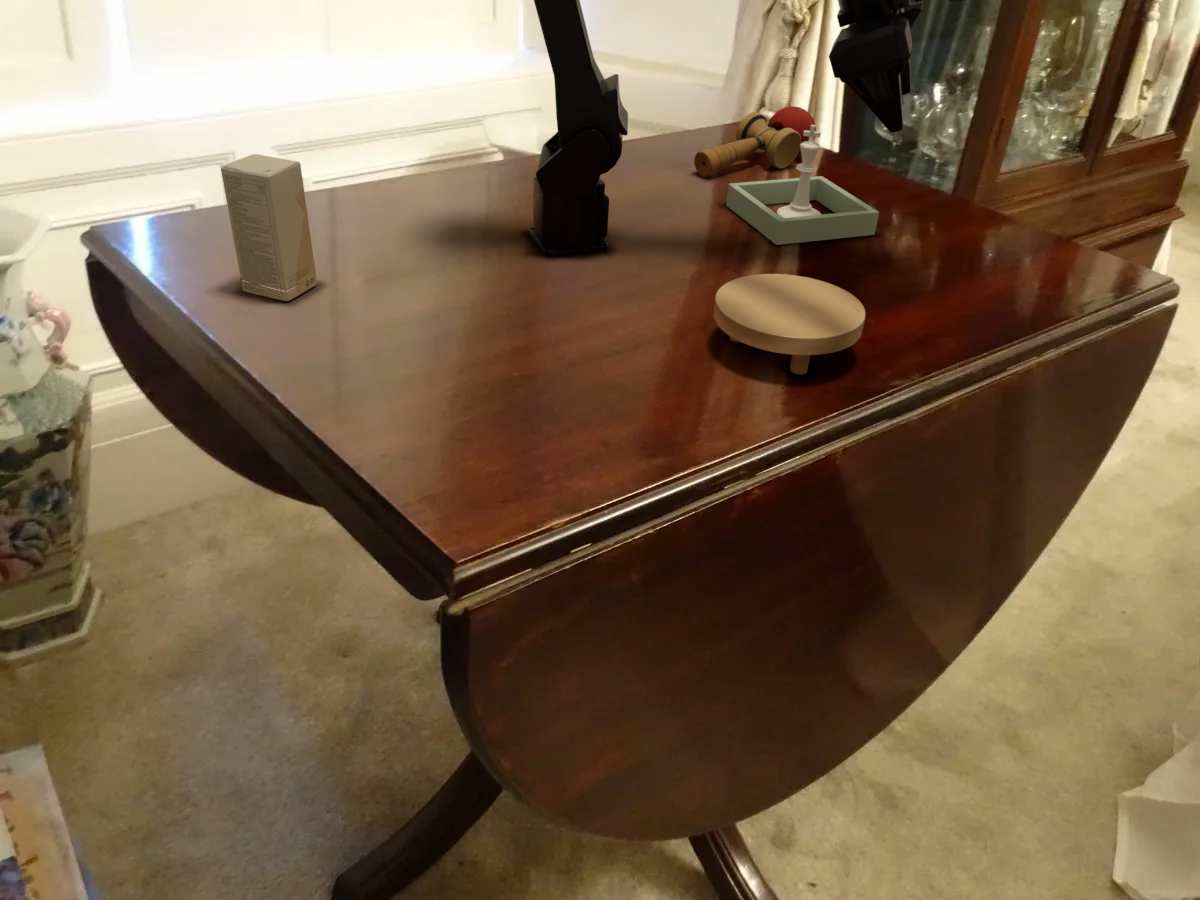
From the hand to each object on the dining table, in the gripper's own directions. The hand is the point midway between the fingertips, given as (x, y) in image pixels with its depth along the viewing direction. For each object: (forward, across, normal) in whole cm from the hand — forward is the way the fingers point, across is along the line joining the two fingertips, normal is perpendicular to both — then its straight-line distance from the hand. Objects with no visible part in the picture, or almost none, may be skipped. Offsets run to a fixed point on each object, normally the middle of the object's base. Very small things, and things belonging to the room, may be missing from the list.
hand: (901, 111), depth 95 cm
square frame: (+10, +6, +14) cm, 18 cm away
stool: (+8, -24, +10) cm, 27 cm away
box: (-10, -29, +49) cm, 58 cm away
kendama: (+9, +23, +22) cm, 33 cm away
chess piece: (+11, +6, +14) cm, 18 cm away
